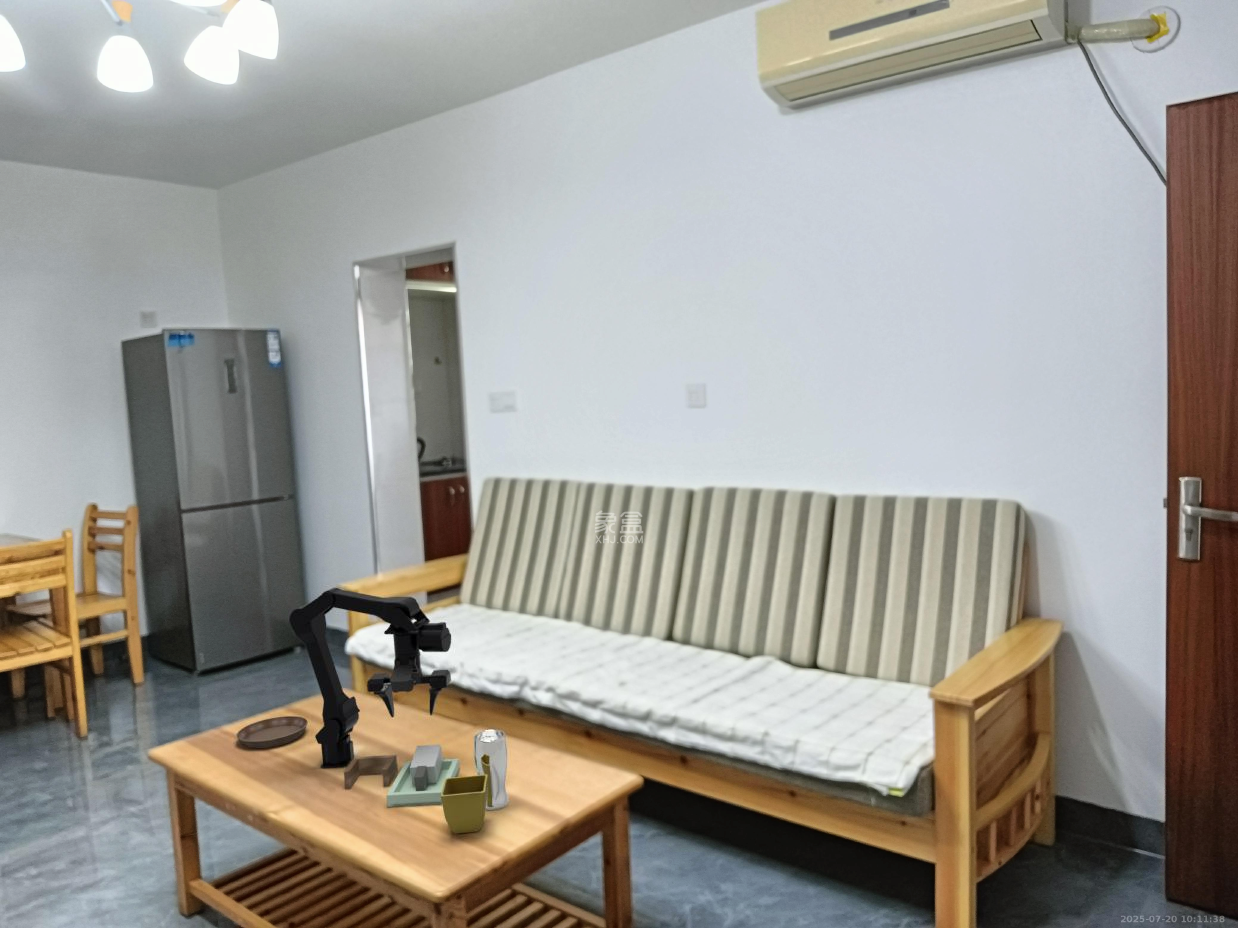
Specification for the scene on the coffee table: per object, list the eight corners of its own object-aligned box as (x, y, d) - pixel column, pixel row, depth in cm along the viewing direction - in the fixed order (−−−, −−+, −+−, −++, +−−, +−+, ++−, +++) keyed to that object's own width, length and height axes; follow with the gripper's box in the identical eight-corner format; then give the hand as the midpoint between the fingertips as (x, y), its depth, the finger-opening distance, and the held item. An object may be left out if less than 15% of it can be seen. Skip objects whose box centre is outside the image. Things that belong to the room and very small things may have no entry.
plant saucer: (223, 744, 239) (222, 733, 238) (282, 721, 253) (281, 711, 253) (263, 756, 228) (262, 745, 228) (322, 732, 243) (321, 721, 243)
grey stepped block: (408, 796, 201) (405, 777, 199) (419, 762, 212) (416, 744, 211) (433, 794, 201) (430, 776, 199) (443, 760, 212) (440, 743, 211)
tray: (387, 806, 196) (386, 795, 195) (406, 771, 213) (406, 761, 213) (444, 803, 195) (444, 792, 195) (459, 769, 213) (458, 758, 213)
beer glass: (516, 797, 196) (511, 730, 195) (501, 812, 190) (496, 742, 189) (487, 794, 199) (482, 728, 197) (472, 809, 192) (466, 740, 191)
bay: (345, 788, 206) (343, 771, 206) (355, 773, 214) (354, 756, 214) (388, 786, 206) (387, 769, 206) (397, 771, 214) (396, 754, 214)
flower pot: (448, 819, 188) (444, 777, 188) (490, 815, 189) (487, 773, 188) (443, 839, 180) (440, 795, 179) (488, 835, 180) (485, 791, 180)
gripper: (357, 663, 207) (363, 730, 208) (439, 659, 207) (444, 726, 208) (371, 649, 218) (376, 713, 220) (448, 645, 218) (453, 708, 219)
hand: (412, 715), depth 216 cm, fingers open, 9 cm apart
